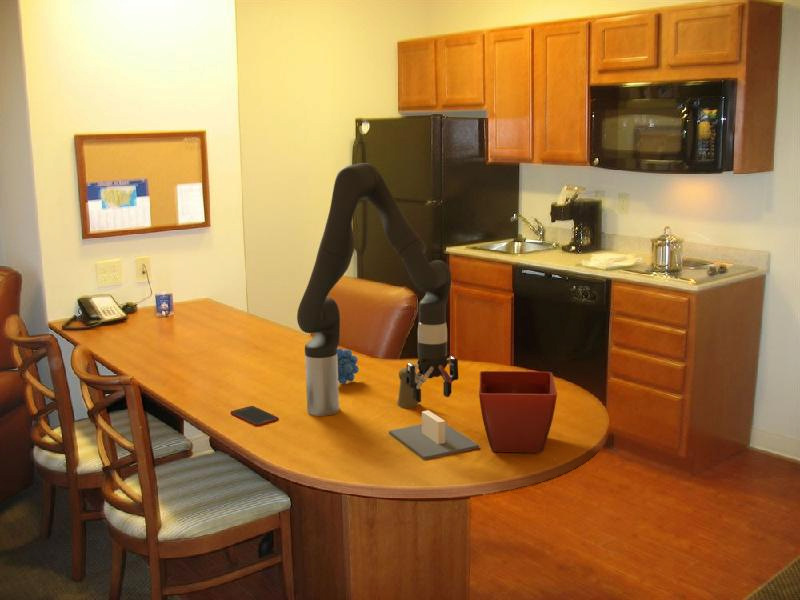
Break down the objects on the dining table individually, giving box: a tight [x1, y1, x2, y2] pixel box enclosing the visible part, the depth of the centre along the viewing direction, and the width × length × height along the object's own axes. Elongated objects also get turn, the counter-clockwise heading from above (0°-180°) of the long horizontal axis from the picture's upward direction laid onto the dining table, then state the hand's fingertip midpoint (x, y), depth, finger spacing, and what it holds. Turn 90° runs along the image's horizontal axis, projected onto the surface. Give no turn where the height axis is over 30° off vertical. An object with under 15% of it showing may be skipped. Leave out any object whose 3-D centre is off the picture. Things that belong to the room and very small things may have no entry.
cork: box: [397, 367, 419, 409], centre depth 252 cm, size 6×6×11 cm
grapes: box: [337, 347, 360, 385], centre depth 270 cm, size 12×7×12 cm, turn 127°
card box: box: [421, 410, 446, 444], centre depth 225 cm, size 9×2×6 cm, turn 27°
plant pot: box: [478, 370, 558, 454], centre depth 221 cm, size 19×19×17 cm
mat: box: [388, 423, 480, 461], centre depth 225 cm, size 20×16×1 cm
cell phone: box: [230, 405, 280, 427], centre depth 245 cm, size 8×15×1 cm, turn 42°
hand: (432, 398), depth 223 cm, fingers open, 8 cm apart
